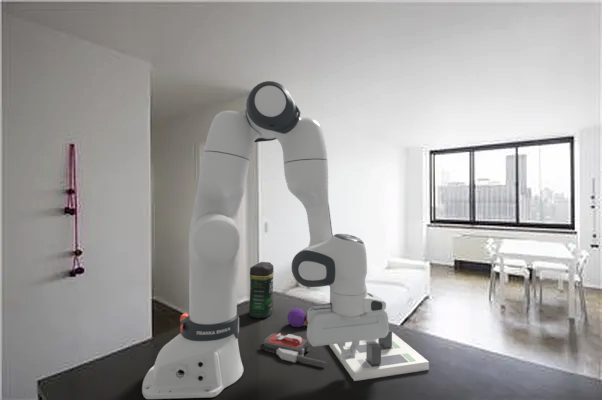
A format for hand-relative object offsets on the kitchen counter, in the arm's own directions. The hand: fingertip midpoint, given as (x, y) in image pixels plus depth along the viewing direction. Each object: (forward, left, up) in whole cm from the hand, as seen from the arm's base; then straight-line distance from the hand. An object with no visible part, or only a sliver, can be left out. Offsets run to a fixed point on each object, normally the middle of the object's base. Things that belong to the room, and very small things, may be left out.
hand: (347, 358), depth 76 cm
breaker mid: (+14, +7, -2) cm, 15 cm away
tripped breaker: (+7, 0, -2) cm, 7 cm away
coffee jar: (-16, +43, -4) cm, 46 cm away
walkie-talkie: (-10, +12, -4) cm, 17 cm away
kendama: (+1, +28, -4) cm, 28 cm away
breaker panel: (+10, +7, -4) cm, 13 cm away
